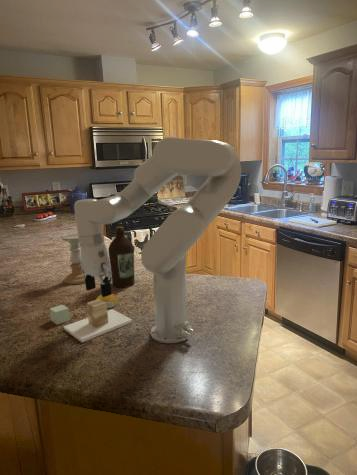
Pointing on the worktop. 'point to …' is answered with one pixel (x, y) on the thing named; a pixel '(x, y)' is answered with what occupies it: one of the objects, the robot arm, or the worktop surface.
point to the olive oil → (121, 260)
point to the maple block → (97, 313)
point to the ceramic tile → (87, 331)
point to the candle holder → (74, 261)
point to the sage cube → (59, 314)
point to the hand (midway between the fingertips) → (98, 292)
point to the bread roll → (109, 300)
